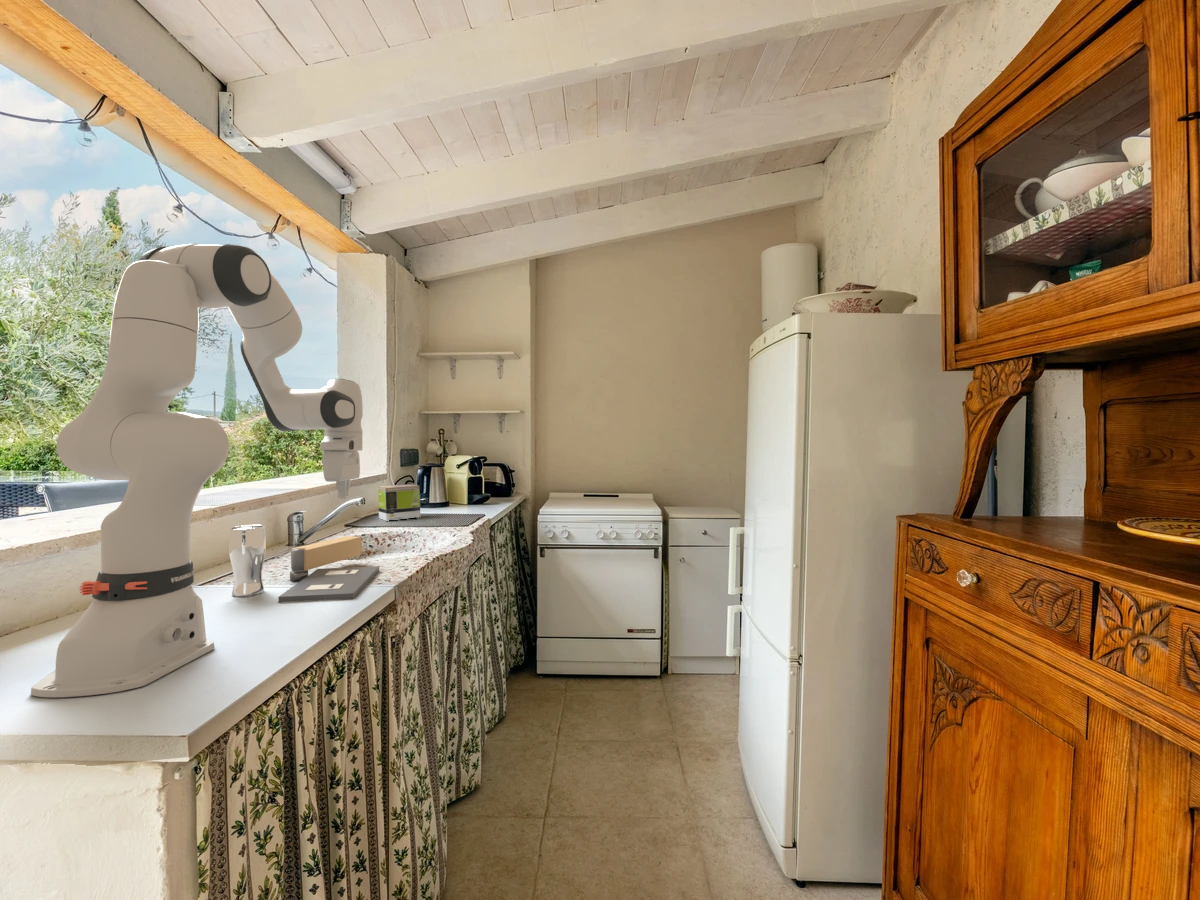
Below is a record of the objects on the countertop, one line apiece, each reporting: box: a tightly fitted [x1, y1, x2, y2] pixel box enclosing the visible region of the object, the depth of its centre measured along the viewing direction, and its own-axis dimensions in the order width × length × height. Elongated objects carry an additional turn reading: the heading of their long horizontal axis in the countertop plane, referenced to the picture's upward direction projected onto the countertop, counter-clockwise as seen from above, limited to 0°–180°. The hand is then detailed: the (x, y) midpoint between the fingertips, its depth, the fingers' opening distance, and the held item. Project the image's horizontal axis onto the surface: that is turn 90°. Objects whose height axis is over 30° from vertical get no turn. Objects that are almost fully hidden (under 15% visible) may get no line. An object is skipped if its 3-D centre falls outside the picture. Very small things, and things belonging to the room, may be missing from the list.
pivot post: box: [289, 570, 309, 583], centre depth 137 cm, size 4×4×2 cm
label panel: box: [277, 565, 380, 603], centre depth 132 cm, size 26×15×2 cm, turn 10°
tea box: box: [377, 484, 421, 522], centre depth 241 cm, size 15×10×15 cm
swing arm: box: [290, 535, 362, 571], centre depth 145 cm, size 5×21×5 cm, turn 163°
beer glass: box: [228, 524, 267, 598], centre depth 124 cm, size 7×7×15 cm
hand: (343, 498), depth 141 cm, fingers closed
